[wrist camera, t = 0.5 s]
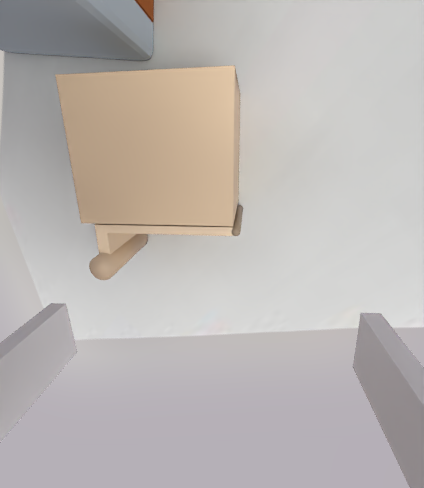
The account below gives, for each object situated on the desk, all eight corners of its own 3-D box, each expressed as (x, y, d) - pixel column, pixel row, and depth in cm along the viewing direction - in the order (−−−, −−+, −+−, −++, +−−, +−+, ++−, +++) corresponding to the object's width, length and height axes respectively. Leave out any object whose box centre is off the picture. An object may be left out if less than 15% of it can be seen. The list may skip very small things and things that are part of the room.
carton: (121, 98, 33) (55, 74, 22) (240, 93, 31) (234, 65, 20) (132, 199, 37) (81, 223, 26) (238, 200, 35) (233, 226, 24)
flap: (125, 204, 36) (81, 224, 27) (242, 205, 35) (240, 227, 25) (130, 246, 38) (91, 279, 29) (242, 250, 36) (239, 286, 27)
